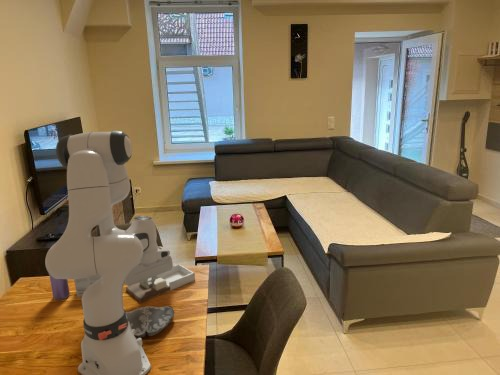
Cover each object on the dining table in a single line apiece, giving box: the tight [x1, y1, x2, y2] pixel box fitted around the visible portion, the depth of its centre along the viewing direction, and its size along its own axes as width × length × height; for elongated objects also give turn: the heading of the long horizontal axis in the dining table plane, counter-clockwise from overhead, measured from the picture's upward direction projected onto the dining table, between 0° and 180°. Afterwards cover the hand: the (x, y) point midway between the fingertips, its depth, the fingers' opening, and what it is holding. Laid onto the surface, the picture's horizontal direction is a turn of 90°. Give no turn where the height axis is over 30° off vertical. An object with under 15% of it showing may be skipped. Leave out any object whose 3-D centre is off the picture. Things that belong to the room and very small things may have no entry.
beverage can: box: [48, 273, 70, 301], centre depth 149 cm, size 6×6×15 cm
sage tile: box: [140, 278, 152, 288], centre depth 155 cm, size 4×4×2 cm
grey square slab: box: [125, 277, 171, 303], centre depth 153 cm, size 13×13×2 cm
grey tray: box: [156, 263, 196, 291], centre depth 161 cm, size 12×12×4 cm
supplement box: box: [73, 275, 102, 298], centre depth 156 cm, size 17×13×9 cm
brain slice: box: [125, 305, 176, 338], centre depth 129 cm, size 20×17×3 cm
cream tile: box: [153, 278, 167, 290], centre depth 153 cm, size 4×4×2 cm
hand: (150, 287), depth 151 cm, fingers closed
